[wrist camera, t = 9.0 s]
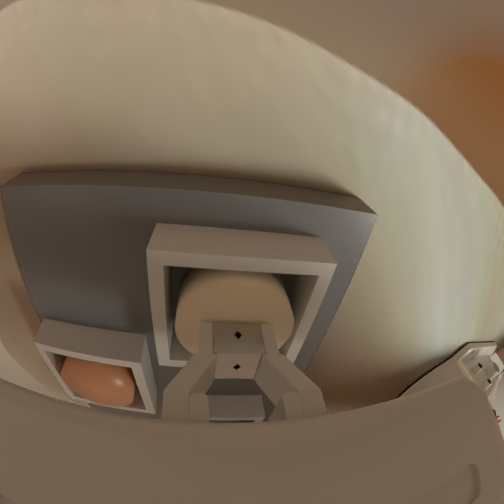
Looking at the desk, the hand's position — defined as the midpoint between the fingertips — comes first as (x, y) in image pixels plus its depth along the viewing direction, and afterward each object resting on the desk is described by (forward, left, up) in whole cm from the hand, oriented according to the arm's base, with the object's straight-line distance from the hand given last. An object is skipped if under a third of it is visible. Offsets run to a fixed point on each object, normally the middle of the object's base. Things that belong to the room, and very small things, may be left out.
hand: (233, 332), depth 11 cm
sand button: (0, 0, -2) cm, 2 cm away
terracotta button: (+8, +7, -2) cm, 11 cm away
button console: (+3, +7, -4) cm, 9 cm away
